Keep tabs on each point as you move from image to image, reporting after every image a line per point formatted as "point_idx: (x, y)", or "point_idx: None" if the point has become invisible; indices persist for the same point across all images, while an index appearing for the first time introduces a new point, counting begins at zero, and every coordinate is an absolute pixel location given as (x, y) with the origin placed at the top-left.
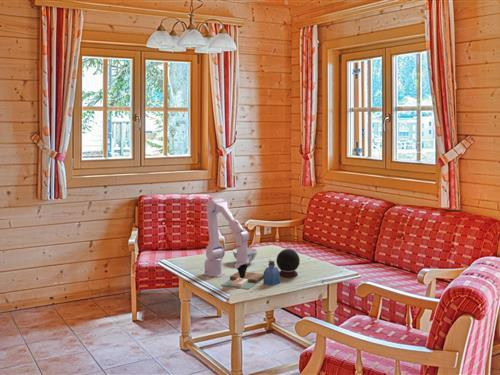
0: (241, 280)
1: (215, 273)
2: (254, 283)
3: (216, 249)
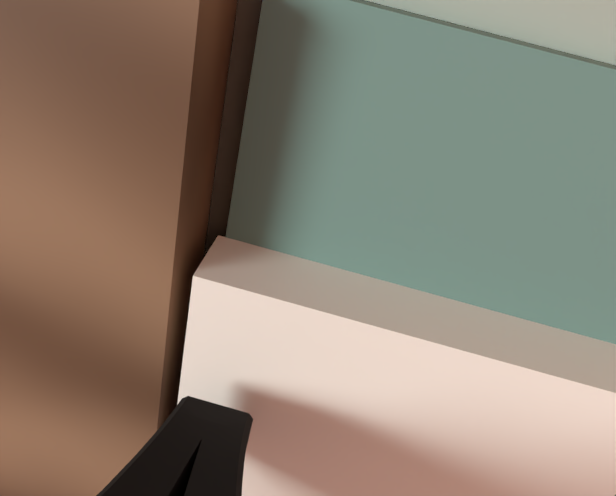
0: (341, 418)
1: None
2: (311, 40)
3: None
